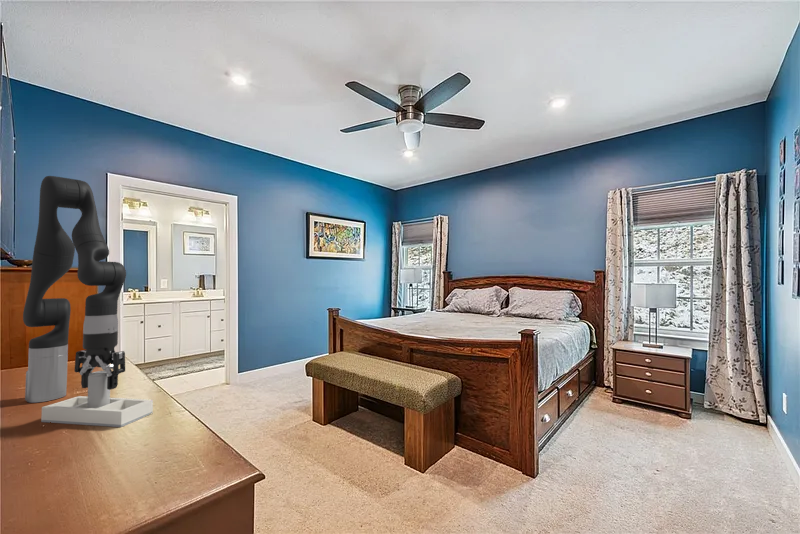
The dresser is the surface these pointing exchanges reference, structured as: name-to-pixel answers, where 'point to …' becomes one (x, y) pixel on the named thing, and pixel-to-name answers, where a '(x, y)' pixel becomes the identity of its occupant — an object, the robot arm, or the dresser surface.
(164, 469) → the dresser surface
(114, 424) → the can caddy
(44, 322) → the robot arm
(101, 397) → the beverage can
